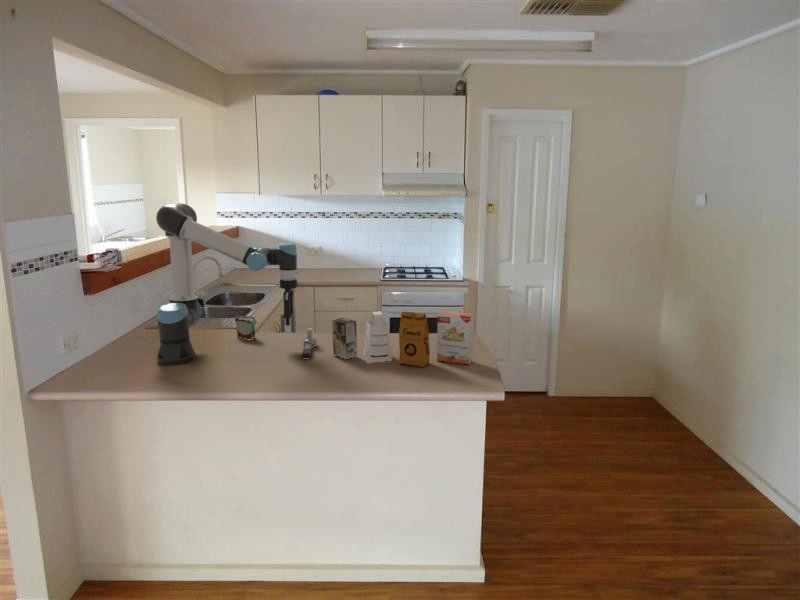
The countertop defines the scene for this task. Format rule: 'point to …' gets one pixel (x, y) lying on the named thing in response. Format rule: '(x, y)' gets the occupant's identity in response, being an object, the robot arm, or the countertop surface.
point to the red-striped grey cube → (293, 322)
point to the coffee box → (344, 338)
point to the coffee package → (414, 339)
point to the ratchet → (308, 344)
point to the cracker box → (455, 337)
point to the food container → (245, 327)
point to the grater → (377, 339)
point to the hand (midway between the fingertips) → (289, 329)
